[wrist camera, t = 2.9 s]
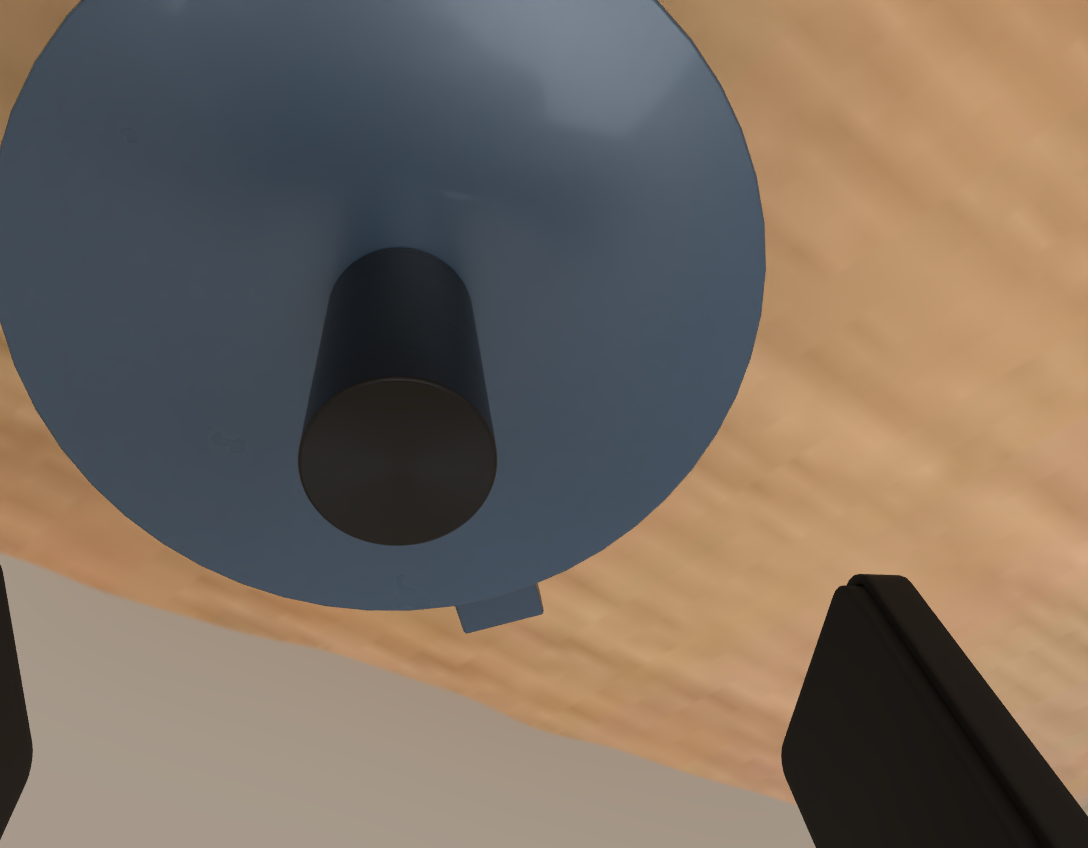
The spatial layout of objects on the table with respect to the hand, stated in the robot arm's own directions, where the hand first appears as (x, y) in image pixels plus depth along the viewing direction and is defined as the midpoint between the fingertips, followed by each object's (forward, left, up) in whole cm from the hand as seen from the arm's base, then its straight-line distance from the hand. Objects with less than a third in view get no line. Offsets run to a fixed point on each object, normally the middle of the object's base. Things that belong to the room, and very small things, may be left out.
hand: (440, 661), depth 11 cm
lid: (-1, 0, -12) cm, 12 cm away
